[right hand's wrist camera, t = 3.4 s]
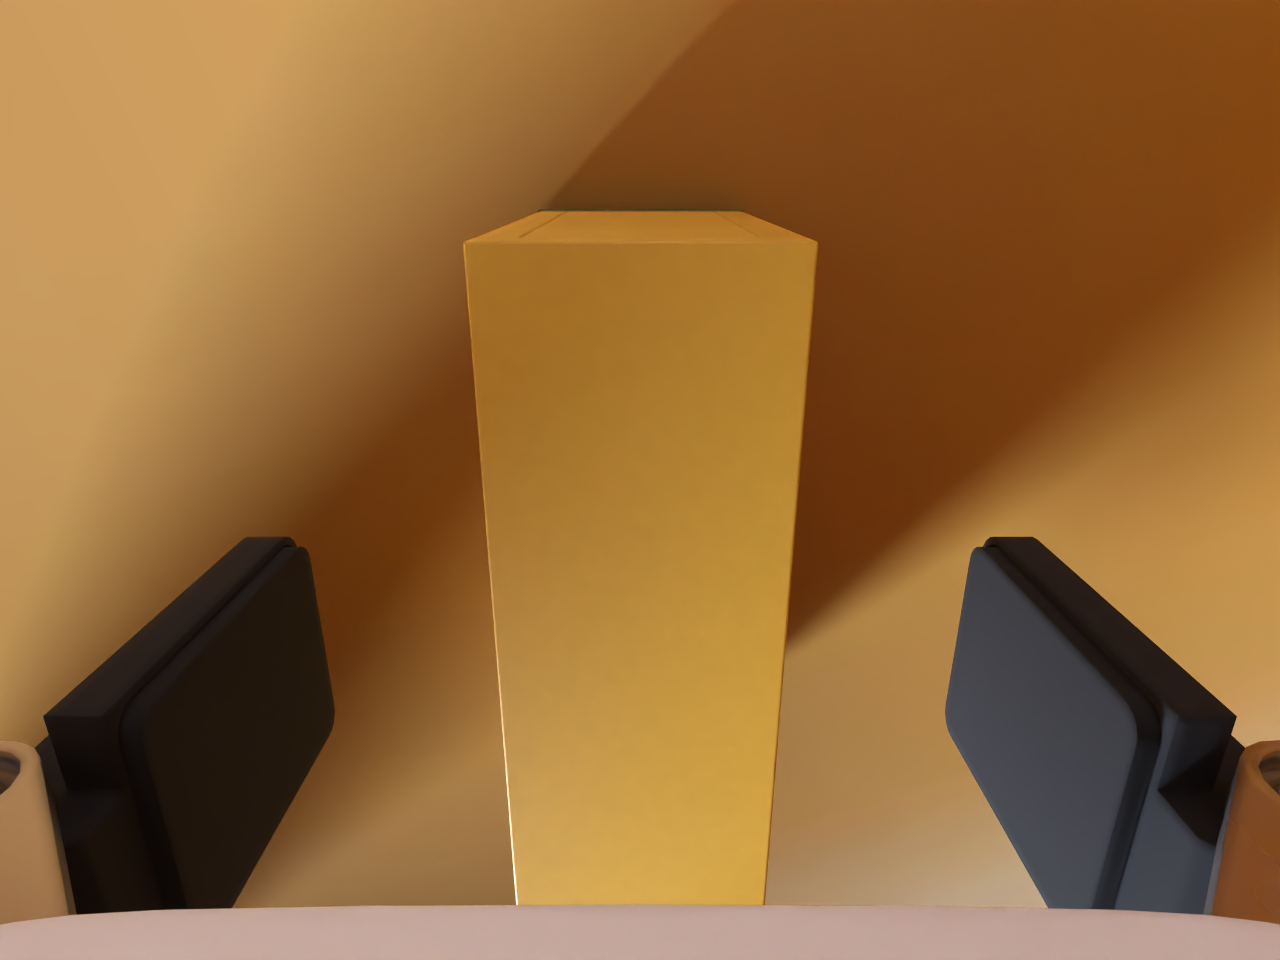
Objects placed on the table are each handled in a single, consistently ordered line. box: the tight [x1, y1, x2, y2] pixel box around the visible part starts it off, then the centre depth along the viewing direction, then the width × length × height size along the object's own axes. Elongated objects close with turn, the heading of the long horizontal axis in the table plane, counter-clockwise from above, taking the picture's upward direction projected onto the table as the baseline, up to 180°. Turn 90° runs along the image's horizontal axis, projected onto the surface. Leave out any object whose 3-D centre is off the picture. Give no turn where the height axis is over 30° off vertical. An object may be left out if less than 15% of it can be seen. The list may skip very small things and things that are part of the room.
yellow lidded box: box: [463, 210, 818, 905], centre depth 22 cm, size 16×6×12 cm, turn 0°
